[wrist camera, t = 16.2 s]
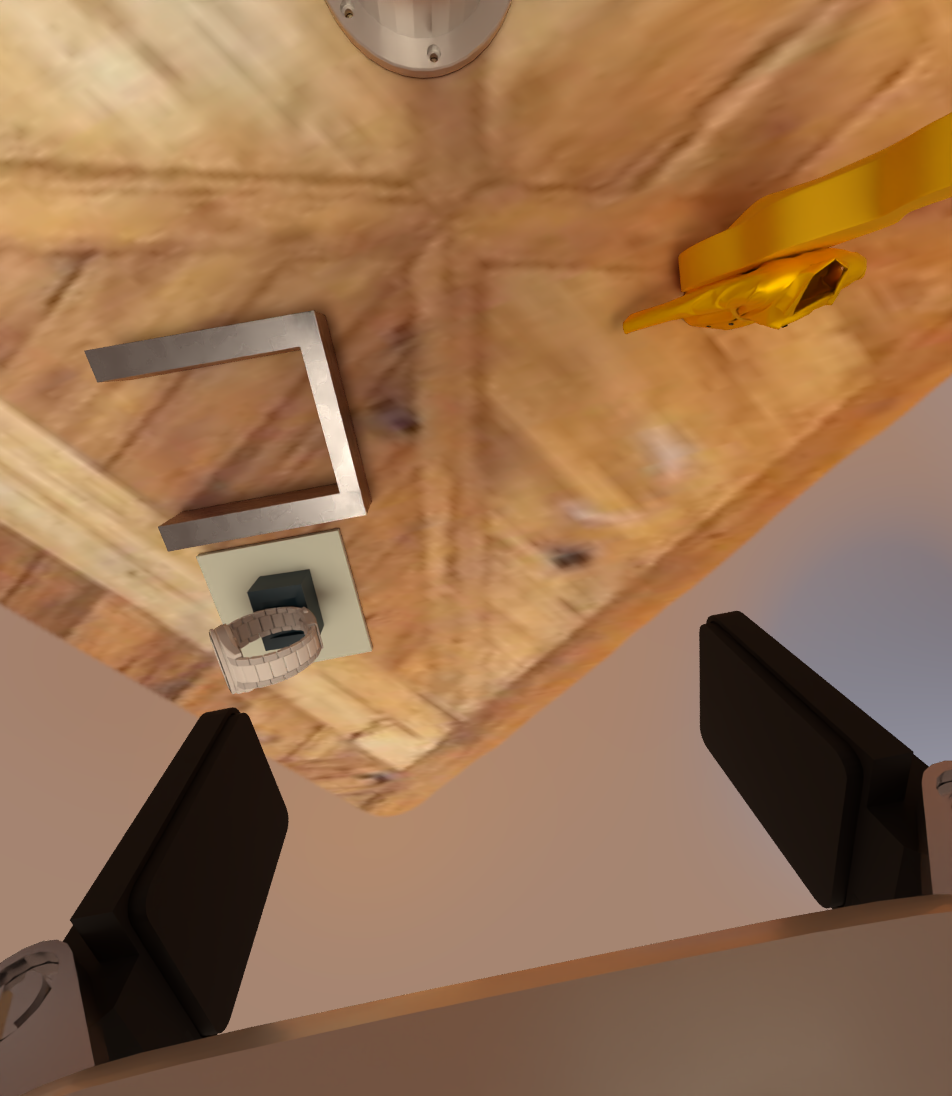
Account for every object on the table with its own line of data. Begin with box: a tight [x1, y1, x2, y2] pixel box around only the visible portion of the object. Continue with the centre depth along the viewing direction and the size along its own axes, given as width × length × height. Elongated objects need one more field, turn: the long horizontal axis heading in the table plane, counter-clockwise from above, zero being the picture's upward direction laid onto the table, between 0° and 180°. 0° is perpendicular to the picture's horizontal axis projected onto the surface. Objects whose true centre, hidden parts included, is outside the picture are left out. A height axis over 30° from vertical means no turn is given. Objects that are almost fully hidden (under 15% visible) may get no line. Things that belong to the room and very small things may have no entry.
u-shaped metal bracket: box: [85, 311, 372, 551], centre depth 38 cm, size 14×15×4 cm
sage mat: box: [196, 528, 373, 670], centre depth 45 cm, size 12×12×1 cm
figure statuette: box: [623, 112, 952, 334], centre depth 28 cm, size 18×8×22 cm, turn 102°
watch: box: [209, 569, 324, 694], centre depth 39 cm, size 6×8×11 cm
